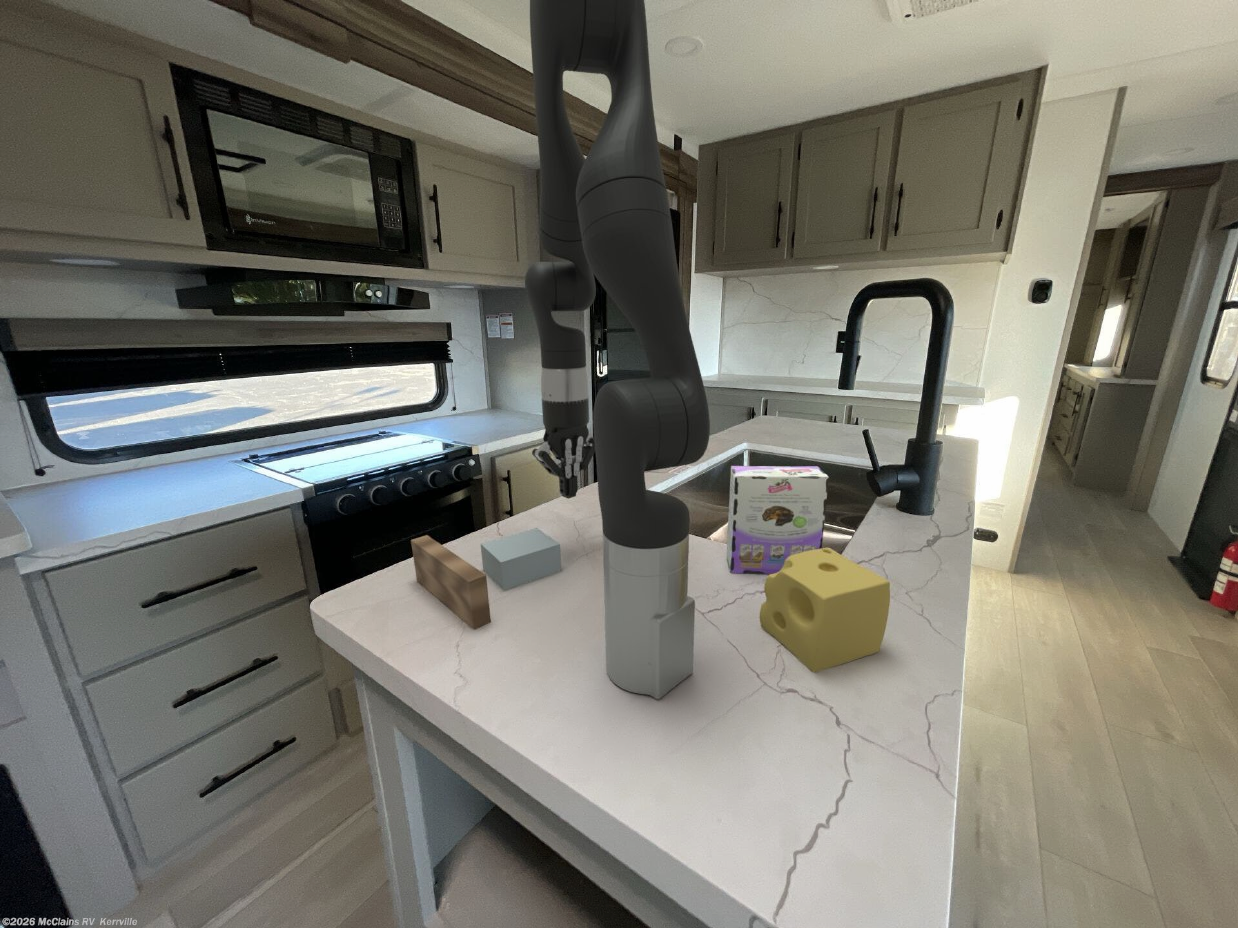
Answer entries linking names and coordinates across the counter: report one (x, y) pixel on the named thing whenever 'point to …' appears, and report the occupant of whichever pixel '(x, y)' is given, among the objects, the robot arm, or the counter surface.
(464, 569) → the walnut board
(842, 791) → the counter surface
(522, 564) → the grey block
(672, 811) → the counter surface
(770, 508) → the candy box
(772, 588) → the cheese
